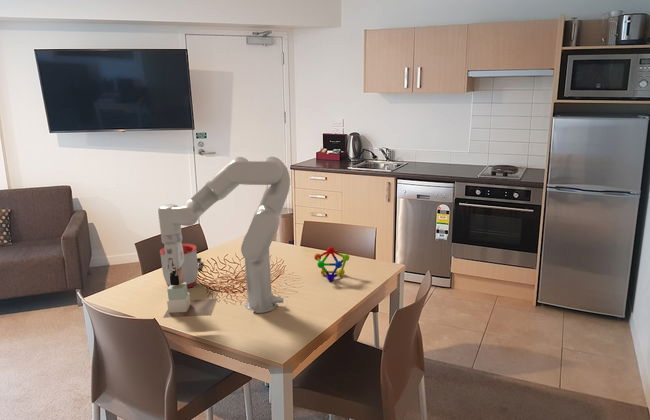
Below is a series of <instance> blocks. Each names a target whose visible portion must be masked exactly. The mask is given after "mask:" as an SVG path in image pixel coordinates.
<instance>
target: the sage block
mask: <svg viewBox="0 0 650 420" xmlns="http://www.w3.org/2000/svg"><path fill="white" fill-rule="evenodd" d="M167 287H168V286H167ZM188 293H189V292H188V288H187V282H186V283H182V284H179V285H173V286H171V284H170V286H169V287H168V288H167V296H168V298H167V300H168V299H169V300H182V299H185V297H186V295H187V294H188Z"/></svg>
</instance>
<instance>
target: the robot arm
mask: <svg viewBox="0 0 650 420" xmlns="http://www.w3.org/2000/svg"><path fill="white" fill-rule="evenodd" d="M240 185H245V186H247V185H248V186H249V185H250V186H251V185H252V186H253V185H254V186H258V185H259V186H264V185H265V186H266V187H265V190H264V193H263V195H262V198H261V200H260V202H259V205H258V206H257V208H256V210H255V211H254V214H253V217H252V220H251V223H250V225H249V227H248V230H247V231H246V234H245V235H244V237H243V240H242V243H241V247H240V251H241V254H242V255H241V256H242V257H243V258H244V269H245V270H244V271H245V282H246V283H245V284H246V293H247V295H246V296H247V301H246V302H245V303H244V305H243V306H244V308H245V309H246V310H249V311H253V314H264V313H267V312H270V311H273V310H274V309H275V308H277V304H278V303H279V304H283V303H284V297H281V295H277V296H276V295H274V292H272V279H271V276H272V275H271V262H270V261H271V260H270V259H271V258H270V246H271V244H272V242H273V240H274V237H275V235H276V232H277V230H278V227H279V221H280V216H281V212H282V210H283V208H284V205H285V203H286V201H287V198H288V194H289V191H290V189H291V187H290V186H291V177H290V173H289V170H288V168H287V166H286V165H285V164H284V162H283V161H282V160H281V159H280V158H278V157H276V156H268V157H266V158H264V159H263V161H262V160H261V161H256V160H254V161H252V160H251V161H249V160H248V159H247V158H245V157H243V156H237V157H236V156H235V157H234V158H233V159H232V160H231V161H229V162H228V163H227V164H226V165H225V166H223V168H221V169H220V170H219V171H218V172H217V173H216V174H215V175H214V176H212V177H211V178H210V179H209V180H208V181H207V182H206V183H205V185H204V186H202V187H201V189H199V190H198V191H197V192H196V193H195V194H194V195H193V196H192V197H191V198H189V199H188V200H187V201H186V202H185V203H184V204H182V206H180V207H179V206H178V205H177V204H172V203H171V204H164V205H160V206H159V207H158V210H157V211H158V220H159V222H158V223H159V229H160V237H161V239H160V240H161V243H162V244H163V245H164V247H163V248H164V249H165V261H166V267H167V268H168V269H169V270H168V271H169V276H170V284H171V286H173V285H179V276H178V275H177V268H181V269H182V267H181V265H182V264H183V262H184V253H183V247H182V244H183V242H182V241H183V233H182V227H183V226H185V227H189V226H190V227H191V226H194V225H195V224H196V223H197V222H198V221H199V219H200V218H201V216H202V215H203V214H204V213H205V212H206V211H207V210H209V209H210V208H211V207H212V206H213V205H215V204H216V203H217V202H219V201H221V200H223V199H225V198H226V197H227V196H228V195H230V194H231V193H232V192H233V191H234V190H236V188H237V187H238V186H240ZM173 269H175V271H173Z"/></svg>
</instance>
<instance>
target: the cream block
mask: <svg viewBox="0 0 650 420" xmlns="http://www.w3.org/2000/svg"><path fill="white" fill-rule="evenodd" d="M190 300H191V296H190V292H188V294H187V295H186V297H185V299H182V300H169V299H168V298H167V300H166V304H167V310H168V313H173V312H187V310H188V308H189V306H190Z"/></svg>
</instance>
